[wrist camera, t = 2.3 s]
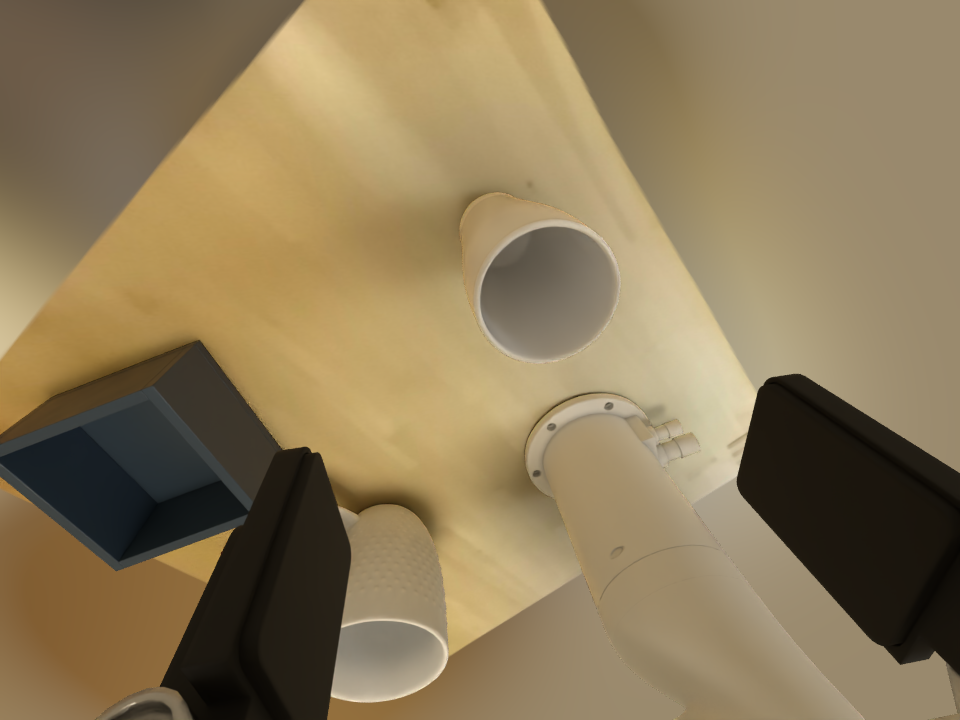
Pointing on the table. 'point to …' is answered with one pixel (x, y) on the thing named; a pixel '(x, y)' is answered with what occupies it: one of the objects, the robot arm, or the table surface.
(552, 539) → the table surface
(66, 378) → the table surface
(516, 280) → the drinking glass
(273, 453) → the bin
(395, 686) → the mug
